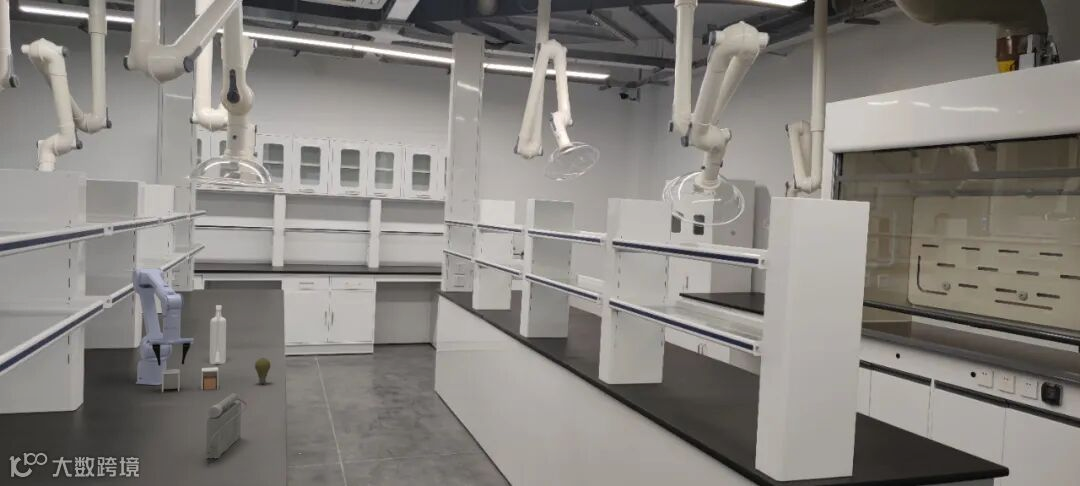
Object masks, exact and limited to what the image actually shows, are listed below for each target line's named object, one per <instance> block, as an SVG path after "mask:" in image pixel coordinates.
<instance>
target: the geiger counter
mask: <svg viewBox="0 0 1080 486" xmlns="http://www.w3.org/2000/svg"><path fill="white" fill-rule="evenodd" d="M242 403H243V404H244V405H245V407H244V408H243V409H241V408H242V405H241V404H242ZM247 408H248V404H247V402H246V401H245V400H243V399H241V398H238V394H237V393H234V392H232V393H231V394H229V395H227V397H225V398H224V399H222V400H220V402H218V403H217V404H214V405H212V406H211V407H209V409H208V410H207V415H208V418H207V419H206V451H205V453H206V458H207V457H208V458H215V457H217V458H218V457H219V456H220V455H221V454H222V453H223V452H224V451H225V450H226V449H227V448H229V447H230V446H231V445H232V444H233V443H234V442H235V441H236V442H238V441H239V439H241V425H242V424H241V423H242V421H241V415H242V413H243V412H244V411H245V410H247ZM236 442H235V443H236ZM235 443H234V444H235ZM234 444H233V445H234ZM233 445H232V446H233ZM232 446H231V447H232ZM231 447H230V448H231ZM230 448H229V449H230ZM221 456H222V455H221ZM221 456H220V457H221ZM220 457H219V458H220ZM219 458H218V459H219Z"/></svg>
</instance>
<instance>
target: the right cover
mask: <svg viewBox="0 0 1080 486" xmlns="http://www.w3.org/2000/svg"><path fill="white" fill-rule="evenodd" d="M208 376H216V390H218V389H219V367H202V368H201V382H200V383H201V391H203V390H204V377H208Z"/></svg>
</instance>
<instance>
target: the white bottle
mask: <svg viewBox="0 0 1080 486" xmlns="http://www.w3.org/2000/svg"><path fill="white" fill-rule="evenodd" d="M222 308H223V305H221V304H216V305H215V315H214V317H212V318H210V321H209V326H210V327H209V364H211V365H221V364H225V363H226V362H227V361H226V359H227V354H226V353H227V319H226V318H225V317H223V315H222Z"/></svg>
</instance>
